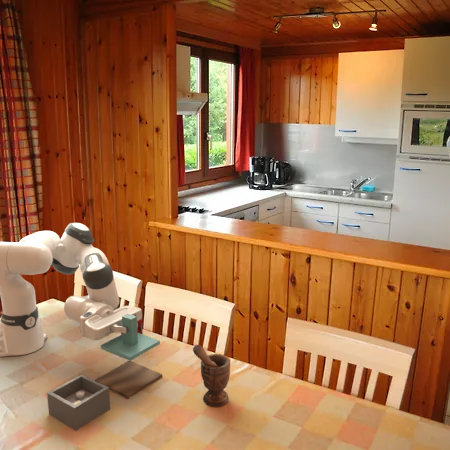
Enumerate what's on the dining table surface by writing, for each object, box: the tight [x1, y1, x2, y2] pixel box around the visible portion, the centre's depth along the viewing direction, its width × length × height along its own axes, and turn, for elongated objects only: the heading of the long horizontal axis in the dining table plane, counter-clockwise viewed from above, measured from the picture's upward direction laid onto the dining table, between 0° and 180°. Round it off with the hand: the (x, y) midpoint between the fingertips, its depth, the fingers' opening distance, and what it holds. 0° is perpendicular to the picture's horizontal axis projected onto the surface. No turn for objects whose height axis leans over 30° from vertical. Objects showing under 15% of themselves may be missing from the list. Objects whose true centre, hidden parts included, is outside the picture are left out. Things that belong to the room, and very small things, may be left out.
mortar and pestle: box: [192, 344, 231, 408], centre depth 142 cm, size 12×9×20 cm
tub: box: [46, 373, 111, 432], centre depth 138 cm, size 12×12×7 cm
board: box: [94, 360, 163, 400], centre depth 155 cm, size 15×15×1 cm
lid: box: [100, 314, 161, 361], centre depth 152 cm, size 13×13×11 cm
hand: (131, 328), depth 151 cm, fingers closed on lid, 2 cm apart
